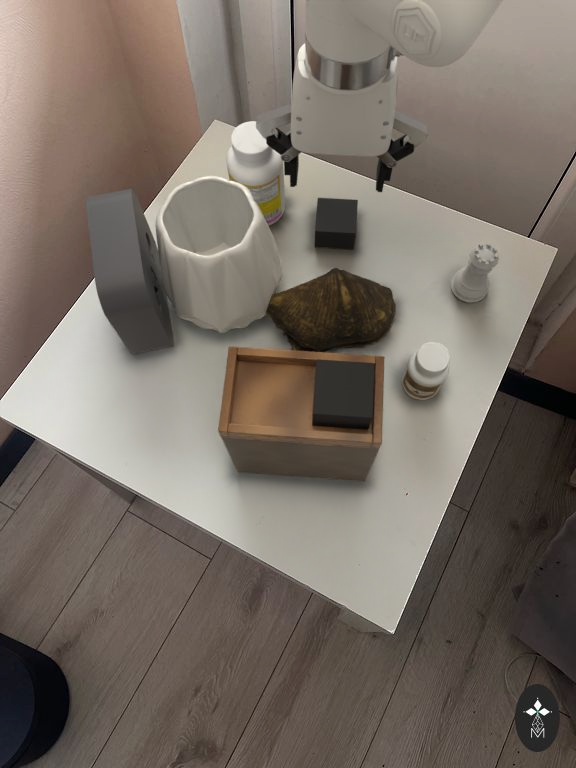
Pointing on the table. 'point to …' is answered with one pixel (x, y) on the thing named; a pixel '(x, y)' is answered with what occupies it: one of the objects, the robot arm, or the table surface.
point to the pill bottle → (426, 371)
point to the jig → (292, 417)
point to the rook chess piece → (475, 274)
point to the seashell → (333, 312)
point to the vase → (216, 254)
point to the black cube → (336, 223)
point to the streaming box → (128, 271)
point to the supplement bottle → (257, 170)
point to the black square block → (343, 394)
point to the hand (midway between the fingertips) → (336, 179)
